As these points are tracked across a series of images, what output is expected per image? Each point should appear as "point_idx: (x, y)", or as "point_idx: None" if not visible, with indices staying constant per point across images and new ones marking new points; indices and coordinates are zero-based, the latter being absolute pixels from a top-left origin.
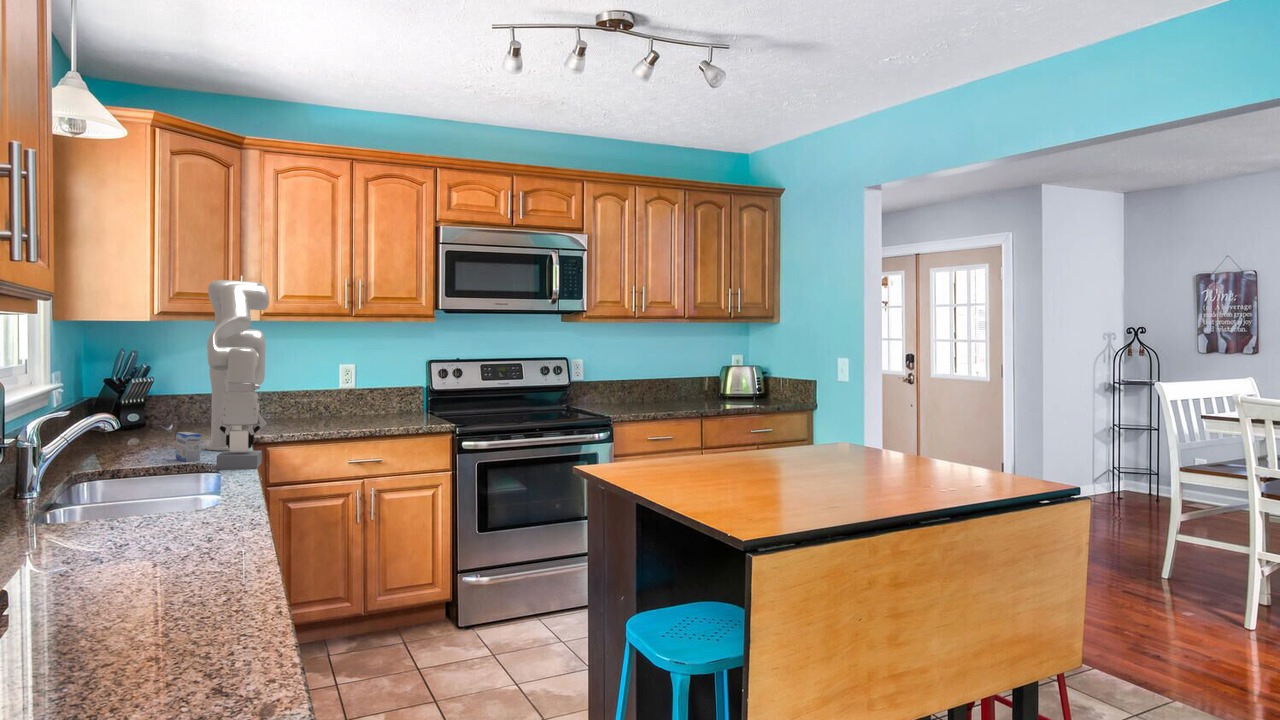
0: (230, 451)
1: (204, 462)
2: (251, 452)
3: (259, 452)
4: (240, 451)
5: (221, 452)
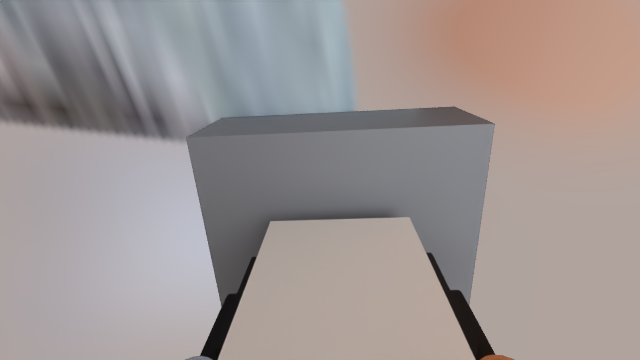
0: (250, 160)
1: (79, 27)
2: (416, 230)
3: (474, 236)
4: (327, 169)
5: (202, 210)
